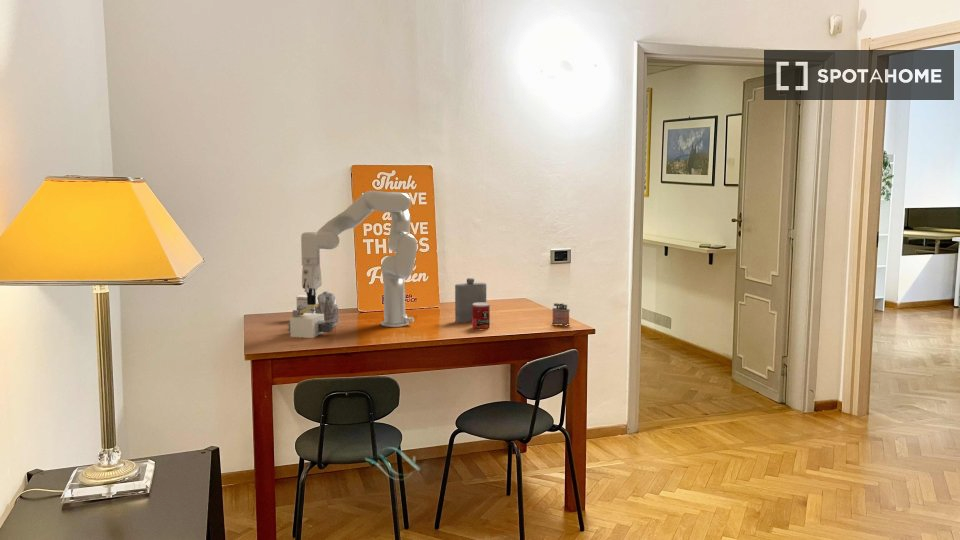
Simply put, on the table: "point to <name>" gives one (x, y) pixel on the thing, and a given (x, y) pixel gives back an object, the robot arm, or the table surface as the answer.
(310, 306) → the lever
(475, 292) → the flask
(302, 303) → the ink box
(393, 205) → the robot arm
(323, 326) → the pin
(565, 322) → the lighter
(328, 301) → the figurine
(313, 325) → the block
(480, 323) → the canned food
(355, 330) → the table surface
